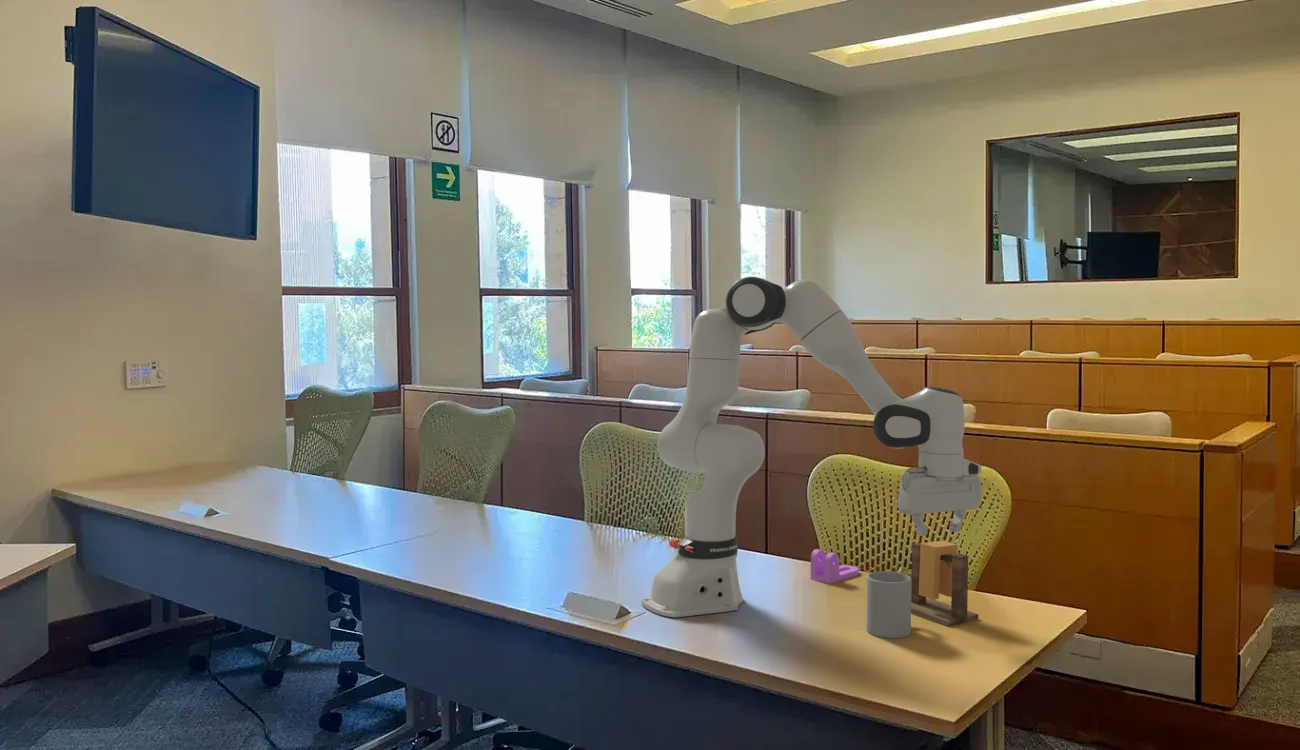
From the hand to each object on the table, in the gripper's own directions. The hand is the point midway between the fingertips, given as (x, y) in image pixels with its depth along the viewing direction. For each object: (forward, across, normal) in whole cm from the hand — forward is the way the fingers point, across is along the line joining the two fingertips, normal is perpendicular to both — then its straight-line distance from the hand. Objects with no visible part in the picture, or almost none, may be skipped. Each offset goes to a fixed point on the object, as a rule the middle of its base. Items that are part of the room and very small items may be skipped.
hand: (938, 533), depth 195 cm
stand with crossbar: (+17, +2, +1) cm, 17 cm away
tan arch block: (+13, +1, +1) cm, 13 cm away
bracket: (+17, +2, +34) cm, 38 cm away
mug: (+18, -13, -1) cm, 23 cm away
